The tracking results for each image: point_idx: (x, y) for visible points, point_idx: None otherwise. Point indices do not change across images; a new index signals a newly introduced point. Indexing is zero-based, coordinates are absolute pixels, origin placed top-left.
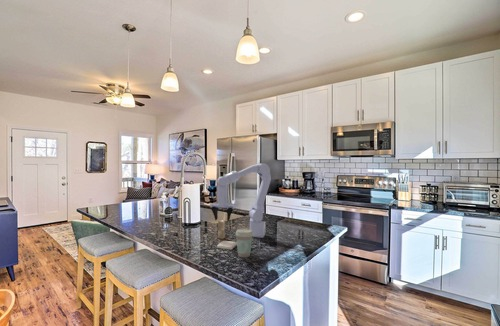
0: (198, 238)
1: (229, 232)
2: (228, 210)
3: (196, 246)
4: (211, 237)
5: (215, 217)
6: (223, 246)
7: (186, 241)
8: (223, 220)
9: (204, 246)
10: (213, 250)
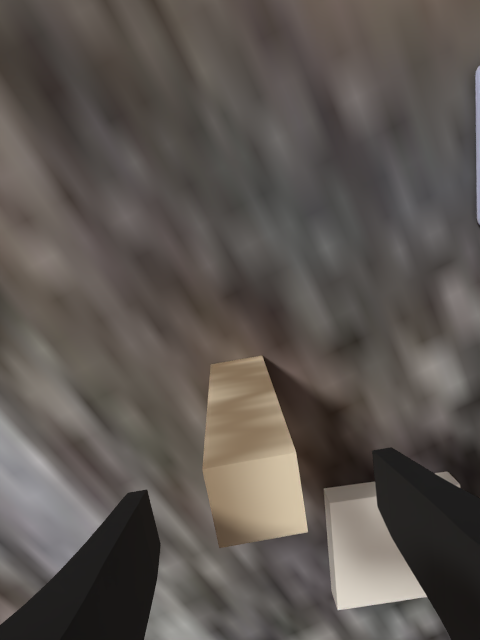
0: (55, 492)
1: (226, 175)
2: None
3: (173, 634)
4: (146, 416)
5: (146, 602)
6: (391, 600)
7: (21, 592)
8: (274, 466)
9: (228, 610)
10: (332, 637)
